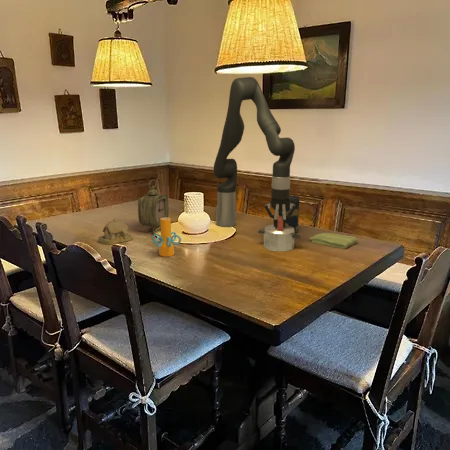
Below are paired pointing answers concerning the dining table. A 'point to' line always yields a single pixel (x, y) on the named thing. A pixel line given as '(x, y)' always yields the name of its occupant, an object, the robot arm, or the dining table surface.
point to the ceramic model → (115, 232)
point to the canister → (295, 215)
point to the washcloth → (334, 240)
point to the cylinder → (166, 238)
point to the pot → (279, 241)
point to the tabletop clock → (152, 208)
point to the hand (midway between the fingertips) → (279, 227)
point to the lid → (279, 228)
